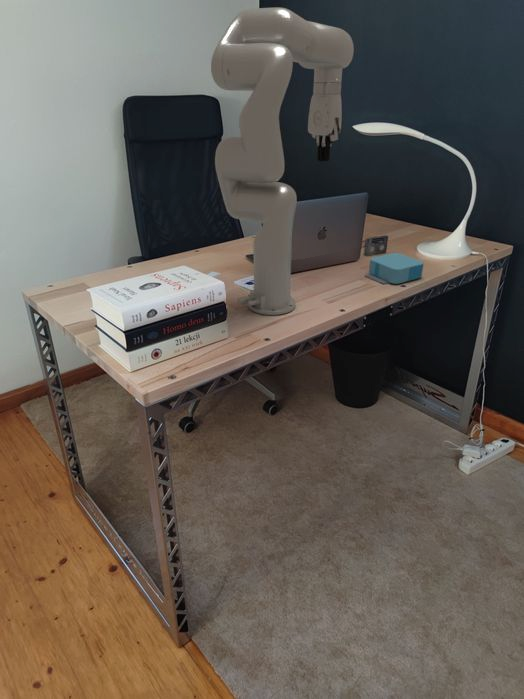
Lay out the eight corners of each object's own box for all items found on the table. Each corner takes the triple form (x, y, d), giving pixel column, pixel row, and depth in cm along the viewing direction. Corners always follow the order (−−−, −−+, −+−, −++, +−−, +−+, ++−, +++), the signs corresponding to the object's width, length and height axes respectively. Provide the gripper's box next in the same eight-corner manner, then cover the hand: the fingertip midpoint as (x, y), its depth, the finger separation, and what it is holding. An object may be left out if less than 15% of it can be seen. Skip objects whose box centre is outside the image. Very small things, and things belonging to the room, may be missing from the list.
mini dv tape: (383, 252, 175) (385, 234, 172) (386, 253, 174) (388, 236, 171) (363, 255, 172) (365, 237, 169) (366, 256, 171) (368, 239, 168)
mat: (383, 284, 148) (383, 283, 147) (364, 276, 154) (364, 275, 153) (419, 274, 155) (419, 273, 154) (400, 267, 161) (400, 266, 160)
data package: (366, 272, 155) (394, 284, 146) (367, 258, 153) (396, 269, 144) (395, 265, 161) (423, 277, 152) (396, 252, 159) (426, 262, 150)
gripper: (300, 89, 143) (298, 158, 151) (333, 90, 132) (328, 165, 140) (321, 89, 146) (318, 157, 155) (355, 90, 135) (349, 163, 144)
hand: (323, 160), depth 148 cm, fingers closed
